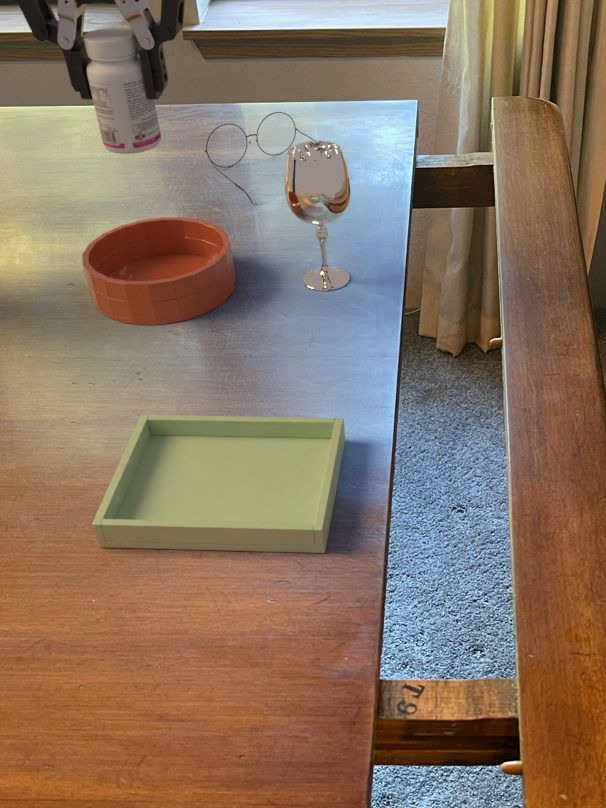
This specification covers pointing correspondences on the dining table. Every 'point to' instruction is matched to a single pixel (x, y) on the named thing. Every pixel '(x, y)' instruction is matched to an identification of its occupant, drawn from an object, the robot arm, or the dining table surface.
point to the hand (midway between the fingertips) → (122, 95)
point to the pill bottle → (120, 91)
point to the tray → (224, 484)
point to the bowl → (159, 270)
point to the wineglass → (318, 200)
